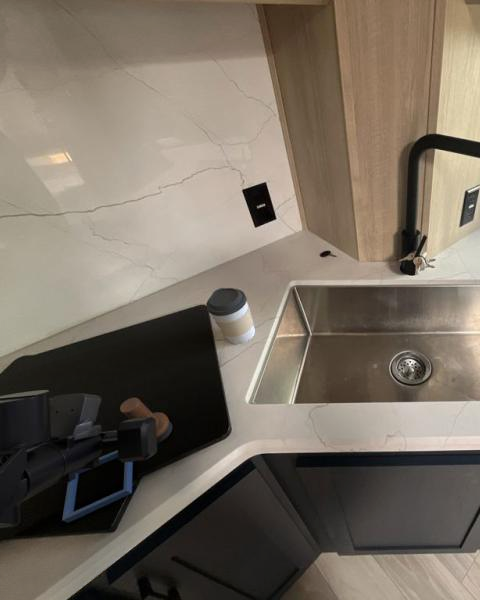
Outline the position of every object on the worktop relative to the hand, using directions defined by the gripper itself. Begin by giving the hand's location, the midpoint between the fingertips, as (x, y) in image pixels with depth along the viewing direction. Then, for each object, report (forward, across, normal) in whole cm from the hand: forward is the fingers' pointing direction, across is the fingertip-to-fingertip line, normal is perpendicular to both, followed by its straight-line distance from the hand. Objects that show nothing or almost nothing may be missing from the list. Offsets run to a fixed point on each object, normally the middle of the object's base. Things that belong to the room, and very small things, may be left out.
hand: (126, 426), depth 58 cm
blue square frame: (+3, +6, +11) cm, 13 cm away
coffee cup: (+28, -11, -13) cm, 33 cm away
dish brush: (+10, 0, +5) cm, 11 cm away
